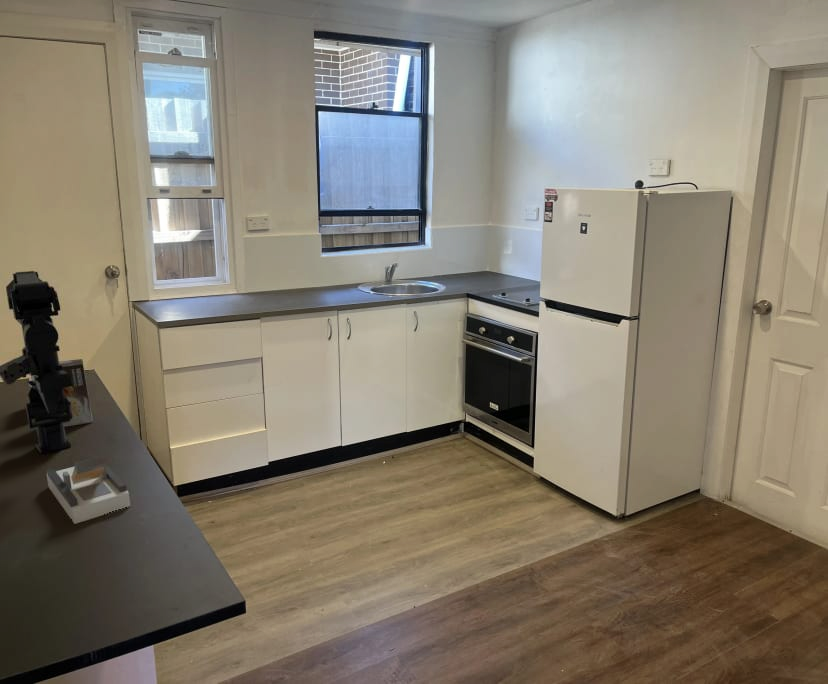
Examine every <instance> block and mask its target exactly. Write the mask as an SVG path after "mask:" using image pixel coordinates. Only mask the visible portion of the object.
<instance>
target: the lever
mask: <svg viewBox="0 0 828 684" xmlns="http://www.w3.org/2000/svg"><path fill="white" fill-rule="evenodd" d="M106 465H107V466H108V462H107V458H106V455H105V454H103V455H99V456H95V457H91V458H88V459H84V460H79V461H76V462H74V466H73V467H75V468H74V471H73V474H72V476H71V479H72V482H73V485H74V484H77V483H81V482H84V481H88V480H91V479H95V478H99V477H101V474H102V472H103V470H104V467H105V466H106Z"/></svg>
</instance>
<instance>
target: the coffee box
mask: <svg viewBox="0 0 828 684" xmlns="http://www.w3.org/2000/svg"><path fill="white" fill-rule="evenodd" d="M59 364H61V365H62V369H63V371H65V372H66V373H68V374H70V375H71V376H73V381H74V385H73V386H70V387H65V388H63V391H62V392H63V397H67V399H68V401H70V402H71V412H72V419H70V421H69V422H68V421H67V422H63V423H64V428H66V427H70V426H71V427H72V426H77V425H83V424H84V425H85V424H90V423H93V415H92V409H91V403H90V396H89V390H88V384H87V378H86V377H87V376H86V372H85V367H84V361H83V359H82V358H79V359H70V360H62V361H59ZM58 371H61V370H58ZM64 414H65V413H64Z"/></svg>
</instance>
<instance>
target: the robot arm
mask: <svg viewBox="0 0 828 684" xmlns="http://www.w3.org/2000/svg"><path fill="white" fill-rule="evenodd" d="M39 277H40V275H39V272H38V271H35V270H31V271H16V272H14V273H12V278H13V279H12V280H11V281H10V282H9V283H8V284H7V285H6V287H5V289H6V292H5V293H6V296H7V303H8V304H7V305H8V309H9V311H10V310H12V315H13V318H14V319H15V320H16V321H17V322H18V323H19V324H20V325H21V331H22V337H23V344H24V347H23V348H22V349H21V354H22V355H20V356H18V357H15V358H13V359H11V360H9V361H7V362H5V363H3V364H1V365H0V378H1V380H2V381H3V383H5V384H6V385H7V386H8V385H12V384H15V382H16V381H17V380H19V379H21V378H23V379H24V378H27V375H29V376H30V377H31V379H32V381H29V380H28V381H27V384H28V385H29V384H30V385H31V386H32V387H31V386H30V387H31V388H30V390H29V392H28V394H27V395H28V396H27V397H28V402H26V403H25V406H26V415H27V421H28V424H29V425H28V426H29V429H34V428H36V429H35V430H36V434H37V435H36V436H37V441H38V443H36V444H34V446H35V447H36V449H37V450H38V452H39V453H40V454H46V453H49V452H54V451H59V450H63V449H67V448H70V447H72V444H71V443H70V441H69V440H68V439H67V438H66V437H67V436H66V431H65V430H66V429H65V427H64V423H63V422H67V421H68V422H69V421H70V419H72V412H71V402H70V401H68V399H67V397H63V392H62V391H63V388H65V387H70V386H73V385H74V381H73V376H71V375H70V374H68V373H66V372H65V371H63V369H62V365H61V364H59V362H60V359H59V353H58V352H60V346H59V345H57V343H58V340H59V333H58V330H57V329H56V327H55V325H54V321H53V318H52V317H54V316H59V311H61V304H60V301H59V295H58V293H57V290H55V288H54V287H53V286H51V285H49V282H48V281H46V280H45V281H43V280H42V279H40V278H39ZM58 370H61V371H58ZM64 413H65V414H64Z"/></svg>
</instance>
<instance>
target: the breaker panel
mask: <svg viewBox="0 0 828 684" xmlns="http://www.w3.org/2000/svg"><path fill="white" fill-rule="evenodd" d="M74 468H75V467H74V466H71V467H67V468H64V469H60V470H55V469H54V468H50V469H46V479H47V485H48V488H49V490H50V491H51V493H52V494H53V495H54V497H55V498H56V500H57V501H58V503H59V504H60V505H61V506H62V508H63V510H64V511H65V513H66V514H67V516H68V517H69V518H70V519H72V520H71V521H72V522H73V524H75V525H76V524H78V523H82V522H85V521H89V520H92V519H94V518H95V519H96V518H99V517H101V516H104V514H105V515H108V514H110V513H109V512H111V513H113V512H112V511H114V512H116V511H115V510H117V511H119V510H118V509H121V510H123V509H122V508H124V509H126V508H125V507H127V508H129V506H130V507H131V499H130V493H129V491H128V489H127V488H128V487H127V484H126V483H125V481H123V480H122V479H121V477H119V476H118V474H117V473H116V472H115V471H114V470H112V469H111V468H110V466H108V464H107V465H106V466H105V467H104V470H103V472H102V474H101V477H99V478H95V479H91V480H88V481H84V482H81V483H77V484H74V485H73V482H72V479H71V476H72V474H73V471H74ZM107 513H108V514H107Z"/></svg>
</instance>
